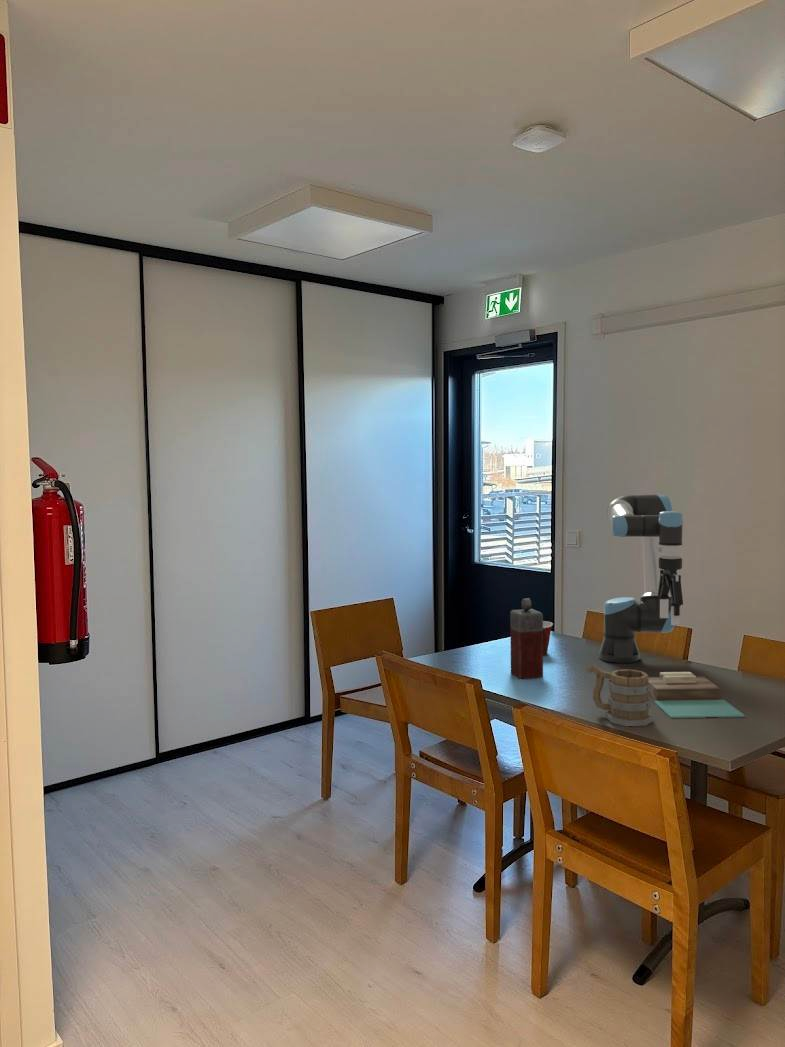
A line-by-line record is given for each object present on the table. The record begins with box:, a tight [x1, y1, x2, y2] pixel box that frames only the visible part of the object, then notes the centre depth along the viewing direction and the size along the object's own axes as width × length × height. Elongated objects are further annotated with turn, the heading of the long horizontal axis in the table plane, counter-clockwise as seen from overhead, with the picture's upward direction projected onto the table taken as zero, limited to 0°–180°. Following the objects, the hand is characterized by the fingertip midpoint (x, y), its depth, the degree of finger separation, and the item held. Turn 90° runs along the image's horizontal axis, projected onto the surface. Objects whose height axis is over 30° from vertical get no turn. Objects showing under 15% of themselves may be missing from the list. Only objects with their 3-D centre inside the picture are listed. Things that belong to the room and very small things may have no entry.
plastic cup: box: [543, 620, 554, 652], centre depth 327 cm, size 11×11×12 cm
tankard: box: [585, 664, 654, 728], centre depth 245 cm, size 20×13×15 cm, turn 48°
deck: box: [648, 676, 721, 701], centre depth 267 cm, size 14×20×4 cm
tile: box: [659, 671, 697, 683], centre depth 270 cm, size 6×10×2 cm, turn 89°
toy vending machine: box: [509, 597, 548, 680], centre depth 294 cm, size 9×11×28 cm
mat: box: [653, 699, 746, 719], centre depth 252 cm, size 16×22×1 cm
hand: (669, 621), depth 278 cm, fingers open, 11 cm apart
